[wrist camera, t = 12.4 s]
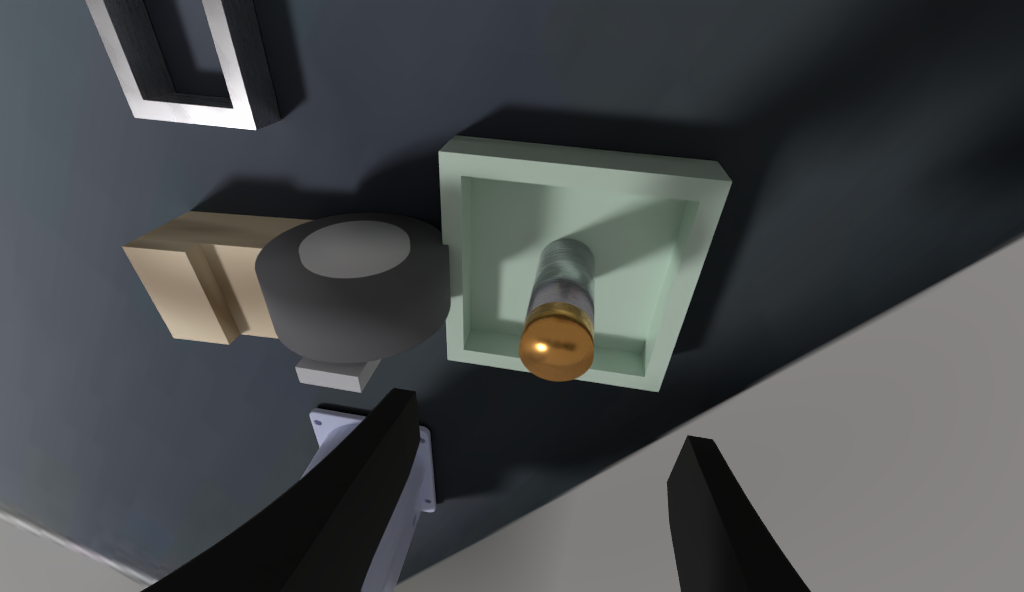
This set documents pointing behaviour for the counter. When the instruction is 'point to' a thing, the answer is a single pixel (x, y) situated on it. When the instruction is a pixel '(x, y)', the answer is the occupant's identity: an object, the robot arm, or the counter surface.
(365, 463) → the robot arm
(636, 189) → the tray
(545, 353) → the pin
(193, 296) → the block
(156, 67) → the pin socket
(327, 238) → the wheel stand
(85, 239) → the counter surface
